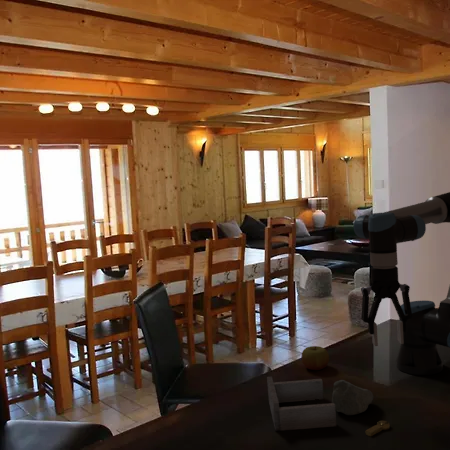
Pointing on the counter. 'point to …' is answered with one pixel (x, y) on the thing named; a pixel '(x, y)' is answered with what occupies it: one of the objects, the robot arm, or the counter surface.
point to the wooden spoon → (378, 428)
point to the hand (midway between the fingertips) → (387, 343)
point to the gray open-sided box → (299, 414)
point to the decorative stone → (350, 398)
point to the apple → (315, 357)
